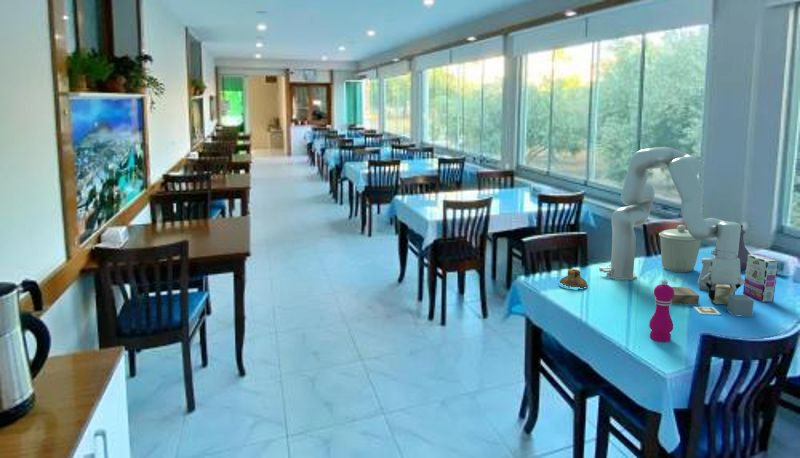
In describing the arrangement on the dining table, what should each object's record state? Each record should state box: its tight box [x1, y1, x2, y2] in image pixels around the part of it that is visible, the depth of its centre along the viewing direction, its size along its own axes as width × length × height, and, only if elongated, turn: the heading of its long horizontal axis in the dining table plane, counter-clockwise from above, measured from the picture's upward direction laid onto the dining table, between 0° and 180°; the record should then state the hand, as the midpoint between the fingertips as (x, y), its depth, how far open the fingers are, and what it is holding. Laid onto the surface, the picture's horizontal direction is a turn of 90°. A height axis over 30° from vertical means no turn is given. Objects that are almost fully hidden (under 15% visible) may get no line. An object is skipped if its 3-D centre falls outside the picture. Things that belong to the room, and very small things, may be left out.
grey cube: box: [726, 294, 755, 317], centre depth 205 cm, size 6×6×6 cm
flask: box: [737, 224, 752, 271], centre depth 260 cm, size 16×16×20 cm
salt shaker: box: [697, 257, 712, 291], centre depth 232 cm, size 6×6×13 cm
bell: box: [559, 268, 588, 288], centre depth 239 cm, size 12×12×7 cm
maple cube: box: [708, 284, 734, 305], centre depth 216 cm, size 6×6×6 cm
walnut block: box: [671, 286, 700, 306], centre depth 220 cm, size 10×10×4 cm
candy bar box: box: [742, 254, 780, 303], centre depth 219 cm, size 11×5×16 cm, turn 5°
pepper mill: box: [648, 279, 674, 343], centre depth 183 cm, size 7×7×20 cm
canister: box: [658, 224, 702, 273], centre depth 258 cm, size 18×18×21 cm
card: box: [692, 306, 721, 316], centre depth 208 cm, size 7×7×1 cm
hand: (720, 299), depth 216 cm, fingers closed on maple cube, 6 cm apart
